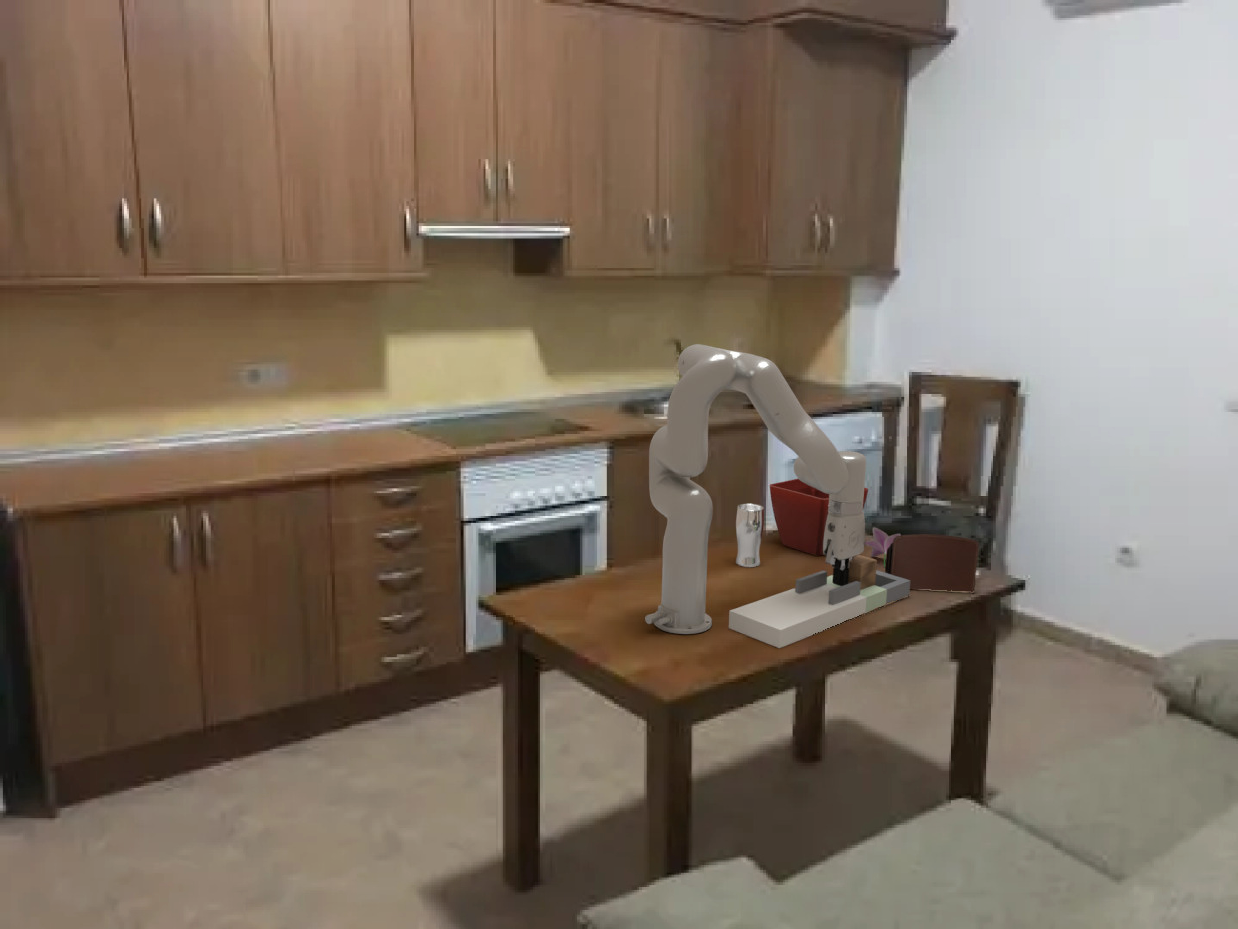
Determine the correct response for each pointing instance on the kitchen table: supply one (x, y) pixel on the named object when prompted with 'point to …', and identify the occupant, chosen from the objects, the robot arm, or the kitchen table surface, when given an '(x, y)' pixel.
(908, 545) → the letter holder
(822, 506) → the plant pot
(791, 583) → the kitchen table surface
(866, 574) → the walnut block
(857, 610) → the channel deck
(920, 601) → the kitchen table surface
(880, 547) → the lily
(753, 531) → the beer glass
